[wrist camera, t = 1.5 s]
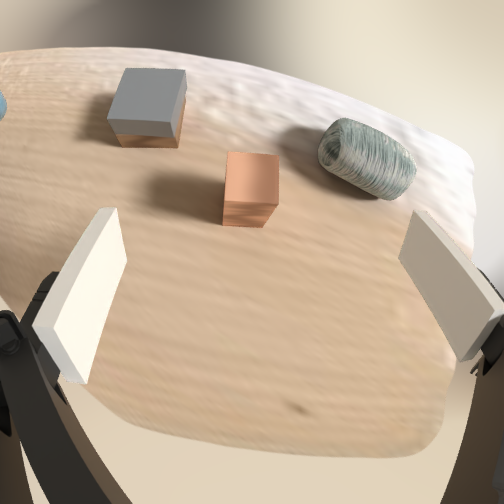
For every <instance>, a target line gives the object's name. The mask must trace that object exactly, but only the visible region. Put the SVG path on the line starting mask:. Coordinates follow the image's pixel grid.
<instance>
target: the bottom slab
mask: <svg viewBox="0 0 504 504" xmlns="http://www.w3.org/2000/svg"><path fill="white" fill-rule="evenodd" d="M185 103H186V97H184V101H183V105H182V109H181V112H180V116H179V120H178V124H177V128H176V132H175V137H174V138H170V137H158V136H144V135H127V134H116V135H115V136H116V137H117V139H118V141H119V142H120V144H121V146H122V147H123V148H178V147H179V140H180V133H181V127H182V121H183V115H184V109H185Z"/></svg>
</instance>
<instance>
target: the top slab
mask: <svg viewBox="0 0 504 504" xmlns="http://www.w3.org/2000/svg"><path fill="white" fill-rule="evenodd" d="M186 90H187V82H186V73H185V70H178V69H155V68H126V69H125V71H124V74H123V76H122V78H121V81H120V83H119V86H118V89H117V91H116V94H115V97H114V99H113V102H112V105H111V107H110V110H109V113H108V116H107V120H108V122H109V124H110V126H111V127H112V129H113V131H114V133H115V134H127V135H144V136H158V137H170V138H174V137H175V132H176V128H177V124H178V120H179V116H180V112H181V109H182V105H183V101H184V97H185V94H186Z"/></svg>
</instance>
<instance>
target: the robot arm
mask: <svg viewBox="0 0 504 504" xmlns="http://www.w3.org/2000/svg"><path fill="white" fill-rule="evenodd" d="M6 110H7V103H6V100H5V98H4V96H3V94H2V92H1V91H0V121H1V120H2V118H3V117H4V115H5V113H6ZM398 259H399V260H400V262H401V263H402V265H403V266H404V268H405V269H406V271H407V273H408V274H409V276H410V277H411V279H412V280H413V282H414V284H415V285H416V287H417V288H418V290H419V292H420V293H421V295H422V297H423V298H424V300H425V302H426V303H427V305H428V307H429V308H430V310H431V312H432V313H433V315H434V317H435V319H436V320H437V322H438V324H439V326H440V327H441V329H442V331H443V333H444V334H445V336H446V338H447V340H448V342H449V344H450V346H451V347H452V349H453V351H454V353H455V355H456V357H457V359H458V360H459V362H463V361H466V360H470V359H473V358H474V356H475V355H476V354H477V352H478V351H479V350H480V348H481V350H482V352H483V355H482V357H481V358H480V359H479V361H478V362H477V363H476V365H475V366H474V367H473V368H472V370H471V372H470V373H471V374H472V373H473V372H474V371H475V370H476V369H478V372H477V373H476V374H475V375H476V376H477V379H476V384H475V390H474V394H473V399H472V404H471V409H470V413H469V417H468V421H467V425H466V429H465V433H464V436H463V440H462V443H461V447H460V450H459V453H458V457H457V460H456V463H455V466H454V469H453V472H452V474H451V477H450V480H449V483H448V485H447V488H446V491H445V493H444V496H443V498H442V500H441V503H440V504H504V299H503V297H502V296H501V295H500V294H499V292H498V291H497V290H496V289H495V287H494V286H493V285H492V283H490V281H489V279H488V278H487V277H486V276H485V274H484V273H483V272H482V271H481V270H479V269H478V268H477V267H476V266H475V265H474V264H473V263H472V261H471V260H470V259H469V258H468V257H467V255H466V254H465V253H464V252H463V251H462V250H461V248H460V247H459V246H458V245H457V244H456V243H455V242H454V240H453V239H452V238H451V237H450V236H449V235H448V234H447V233H446V232H445V230H444V229H443V228H442V227H441V226H440V225H439V224H438V223H437V222H436V221H435V220H434V219H433V218H432V217H431V215H430V214H429V213H428V212H427V211H419V210H413V214H412V217H411V220H410V224H409V227H408V230H407V233H406V236H405V239H404V242H403V245H402V248H401V251H400V254H399V257H398ZM126 262H127V258H126V253H125V249H124V244H123V239H122V234H121V229H120V224H119V219H118V214H117V208H116V207H109V208H100V209H99V210H98V212H97V213H96V215H95V216H94V218H93V219H92V221H91V222H90V224H89V225H88V227H87V228H86V230H85V231H84V233H83V235H82V236H81V238H80V239H79V241H78V243H77V244H76V246H75V247H74V249H73V251H72V252H71V254H70V256H69V257H68V259H67V261H66V262H65V264H64V266H63V268H62V269H61V271H60V272H52V273H50V274H49V275H48V276H47V277H46V278H45V279H44V280H43V281H42V283H41V284H40V286H39V288H38V290H37V293H35V295H34V297H33V299H32V301H31V302H30V304H29V306H28V308H27V310H26V312H25V313H24V315H23V317H22V319H21V321H20V323H19V321H18V320H17V318H16V316H15V314H14V313H13V312H11V311H9V310H2V311H0V504H34V503H33V500H32V496H31V492H30V488H29V484H28V481H27V476H26V472H25V467H24V462H23V457H22V451H21V446H20V441H21V443H22V446H23V448H24V451H25V453H26V456H27V458H28V460H29V462H30V465H31V467H32V469H33V471H34V474H35V476H36V478H37V480H38V482H39V484H40V486H41V488H42V490H43V492H44V494H45V495H46V498H47V499H48V501H49V503H50V504H132V502H131V501H130V500H129V498H128V497H127V496H126V494H125V493H124V492H123V490H122V489H121V488H120V486H119V485H118V483H117V482H116V481H115V479H114V478H113V476H112V475H111V473H110V472H109V470H108V469H107V467H106V466H105V464H104V463H103V461H102V460H101V458H100V457H99V455H98V454H97V452H96V450H95V449H94V447H93V445H92V444H91V442H90V440H89V439H88V437H87V435H86V434H85V432H84V430H83V429H82V427H81V425H80V423H79V421H78V419H77V418H76V416H75V414H74V412H73V410H72V408H71V406H70V405H69V402H68V400H67V398H66V397H65V394H64V392H63V390H62V388H61V386H60V385H59V383H58V382H57V380H58V377H59V374H60V372H61V374H62V375H63V377H64V378H65V379H66V381H67V382H73V383H80V384H87V381H88V377H89V373H90V370H91V366H92V363H93V359H94V356H95V353H96V349H97V346H98V343H99V339H100V336H101V333H102V330H103V327H104V324H105V321H106V318H107V315H108V312H109V309H110V306H111V303H112V300H113V297H114V294H115V292H116V289H117V286H118V283H119V281H120V278H121V275H122V273H123V270H124V267H125V265H126Z"/></svg>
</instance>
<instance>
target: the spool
mask: <svg viewBox="0 0 504 504" xmlns="http://www.w3.org/2000/svg"><path fill="white" fill-rule="evenodd" d="M318 160H319V163H320V165H322V166H323V168H325V169H326V170H327V171H328V172H331V173H333V174H335V175H336V176H338V177H340V178H342V179H344V180H346V181H348V182H349V183H351V184H353V185H355V186H357V187H359V188H360V189H362V190H364V191H366V192H368V193H370V194H372V195H375V196H376V197H378V198H381V199H384V200H394V199H396V198H398V197H399V196H401V194H402V193H404V192H405V191H406V189H407V188H408V187H409V185H410V184H411V183H412V182H413V180H414V179H415V176H416V172H417V167H416V162H415V160H414V159H413V157H412V155H411V154H410V153H409V152H408V151H407V150H406V149H405V148H404V147H403V146H402V145H401V144H399V143H398V142H396V141H395V140H393V139H392V138H390V137H389V136H387V135H385V134H384V133H382V132H380V131H378V130H376V129H374V128H372V127H369V126H367V125H365V124H362V123H360V122H357V121H354V120H351V119H348V118H341V119H338V120H336V121H335V122H334V123H333V124H332V125H331V126H330V127H329V128H328V129H327V131H326V132H325V134H324V135H323V137H322V140H321V142H320V145H319V148H318Z"/></svg>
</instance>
